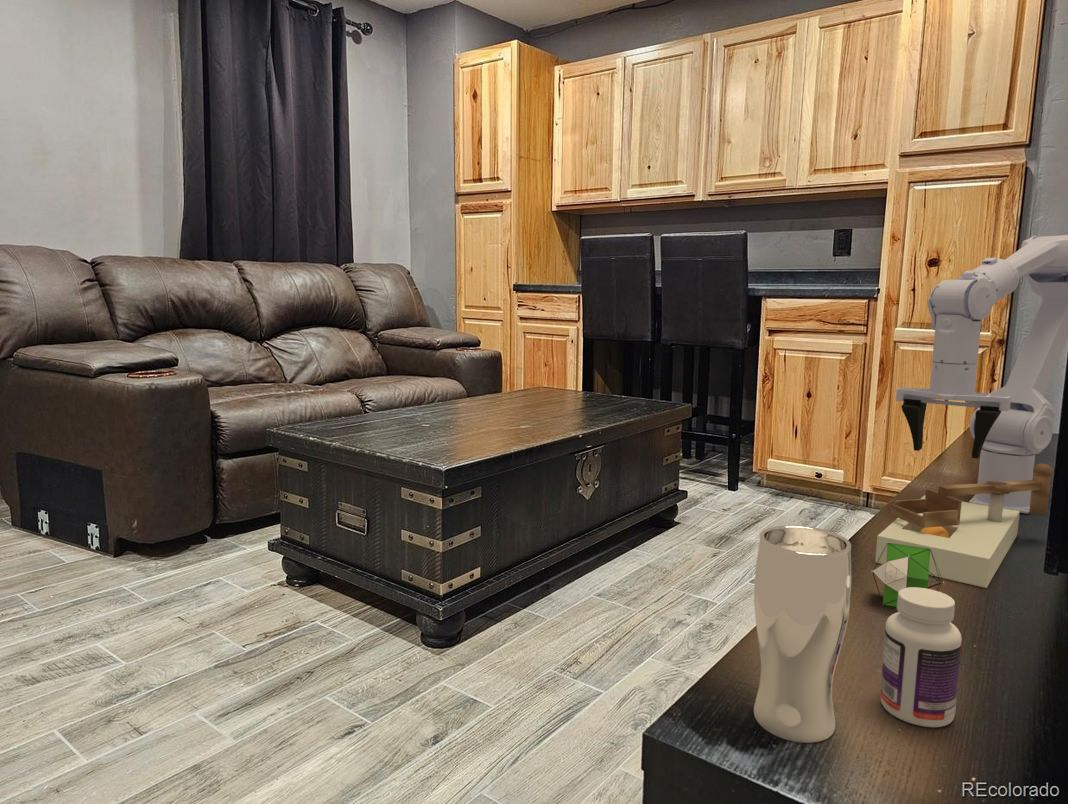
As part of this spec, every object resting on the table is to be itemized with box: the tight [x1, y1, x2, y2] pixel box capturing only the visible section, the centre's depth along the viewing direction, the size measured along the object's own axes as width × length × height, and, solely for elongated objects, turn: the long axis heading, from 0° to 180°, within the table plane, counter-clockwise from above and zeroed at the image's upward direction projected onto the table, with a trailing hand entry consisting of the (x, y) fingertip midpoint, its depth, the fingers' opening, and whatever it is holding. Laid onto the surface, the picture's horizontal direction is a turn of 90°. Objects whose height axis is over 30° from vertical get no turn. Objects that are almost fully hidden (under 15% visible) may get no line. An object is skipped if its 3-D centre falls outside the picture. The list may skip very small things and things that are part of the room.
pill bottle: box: [880, 587, 962, 728], centre depth 57 cm, size 5×5×10 cm
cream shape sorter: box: [875, 493, 1020, 589], centre depth 94 cm, size 24×12×7 cm, turn 139°
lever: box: [890, 462, 1054, 528], centre depth 94 cm, size 22×6×7 cm, turn 102°
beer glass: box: [753, 525, 852, 744], centre depth 56 cm, size 7×7×15 cm
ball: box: [920, 527, 950, 538], centre depth 92 cm, size 4×4×4 cm
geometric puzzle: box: [870, 542, 945, 608], centre depth 77 cm, size 7×7×8 cm
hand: (946, 453), depth 107 cm, fingers open, 7 cm apart
